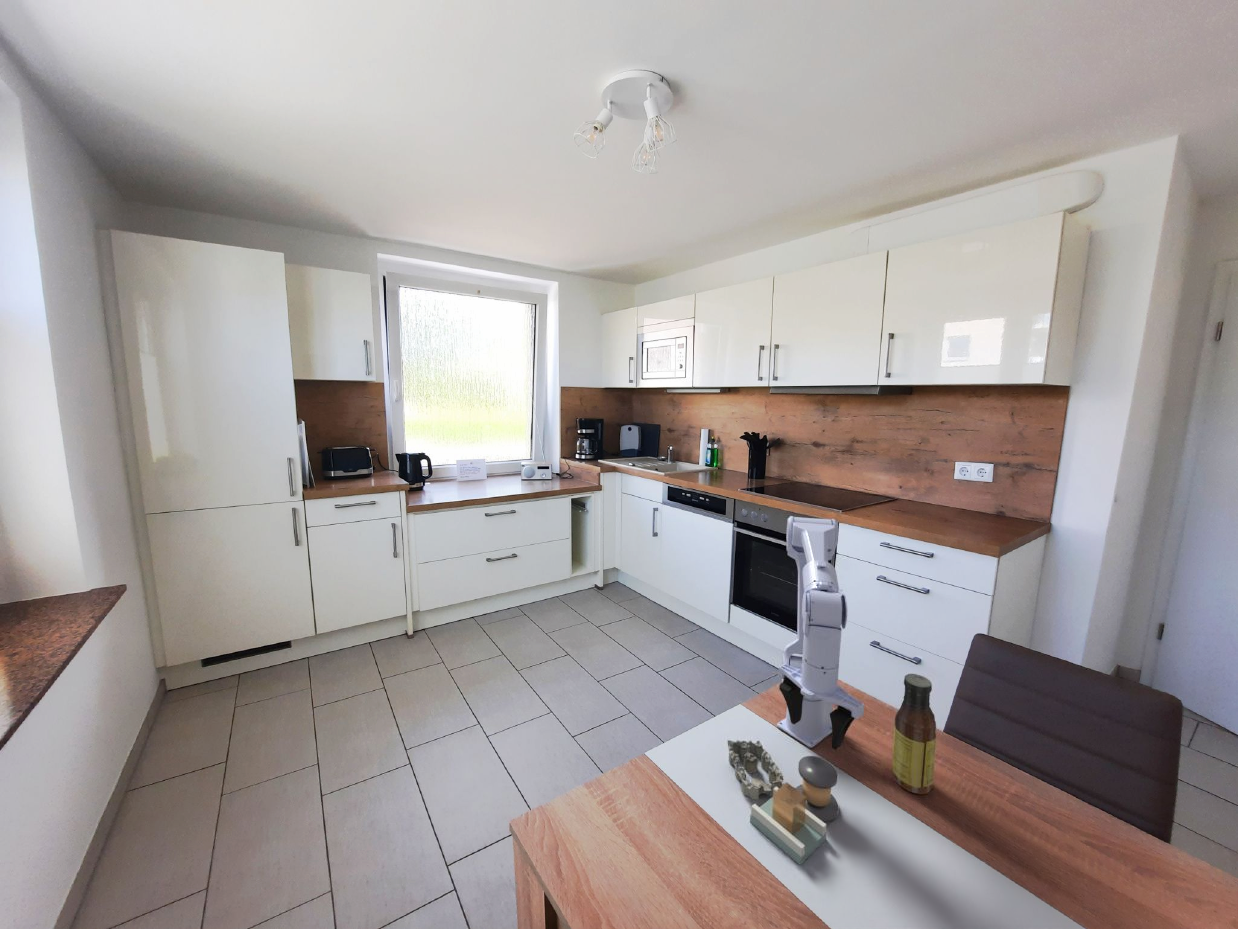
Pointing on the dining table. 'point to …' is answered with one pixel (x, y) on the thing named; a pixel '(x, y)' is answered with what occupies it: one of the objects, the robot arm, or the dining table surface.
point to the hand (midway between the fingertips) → (815, 733)
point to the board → (795, 844)
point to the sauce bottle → (915, 737)
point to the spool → (818, 787)
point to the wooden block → (789, 808)
